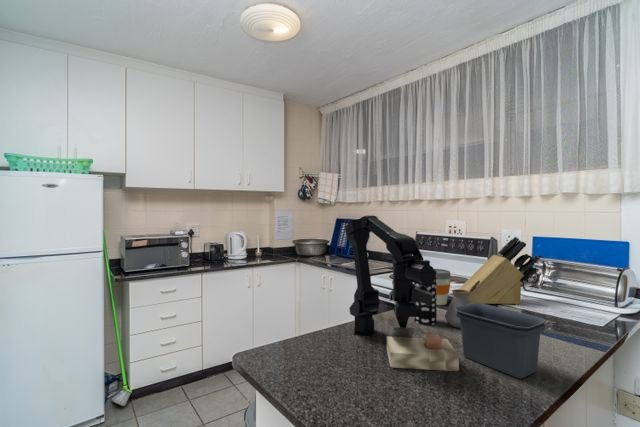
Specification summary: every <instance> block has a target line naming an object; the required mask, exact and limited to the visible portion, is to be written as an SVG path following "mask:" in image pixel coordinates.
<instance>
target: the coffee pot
mask: <svg viewBox="0 0 640 427" xmlns="http://www.w3.org/2000/svg"><path fill="white" fill-rule="evenodd" d="M480 282H481V281H477V283H475V285H473V287H472V288H471V289H470V291H467V290H459V288H458V289H452V290H451V293H452V294H453V298H452V299H451V302H450V303H449V305H448V308H447V310H446V311H445V314H444V318H445V320H446V322H447V323H448V324H449V325H450V326H451V327H454V328H456V329H461V324H460V318H459V317H457V316H456V312H457V311H456V310H455V307H458V306H463V305H467V304H471V302H470V300H469V298H468V297H469V295H470V293H471V292H472V291H473V290H474V289H475V288H476V287H477V285H480V284H479V283H480ZM482 284H483V283H482Z"/></svg>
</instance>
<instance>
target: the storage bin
mask: <svg viewBox="0 0 640 427" xmlns="http://www.w3.org/2000/svg"><path fill="white" fill-rule="evenodd" d="M455 310H456V311H457V312H456V316H457V317H459V318H460V324H461V328H460V332H461V344H462V352H463V356H464V357H465V358H467V359H469V360H472V361H474V362H476V363H478V364H481V365H484V366H487V367H489V368H492V369H494V370H496V371H500V372H502V373H504V374H506V375H510V376H512V377H515V378H517V379H524V378H526V377H528V376H531V375H532V374H533V373H535V372H537V370H538V362H539V360H538V359H539V350H540V339H541V332H542V331H545V330H546V324H545V323H547V322H548V320H547V319H545V318H543V317H539V316H536V315H532V314H529V313H523V312H520V311H516V310H510V309H508V308H502V307H499V306H494V305H491V304H480V303H472V304H467V305H463V306H458V307H455Z"/></svg>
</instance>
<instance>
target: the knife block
mask: <svg viewBox="0 0 640 427" xmlns="http://www.w3.org/2000/svg"><path fill="white" fill-rule="evenodd" d="M525 247H527V243H526V242H524V241H522V240H520V238H519V237H518V236H514V237H513V238H512V239H511V240H509V241H508V242H507V243H506V244H505V245H504V246H502V248H501V249H500V250H499V251H498V252H497V254H492V256H490V258H489V259H487V261H485V262H484V264H482V265H481V266H480V267H479V268H478V269H477V270H476V271H475V272H474V273H473V274H472V275H471V276H470V277H469V278H468V279H467V280H466V281H465V282H464V283H463V284H462V285H461V286H460V287H459V288H458V289H459V290H467V291H470V289H471V288H472V287H473V285H475V283H477V281H481V282H480V283H479V284H480V285H477V287H476V288H475V289H474V290H473V291H472V292H471V293H470V295H469V297H468V298H469V300H470V302H471V304H472V303H480V304H486V305H491V304H493V305H495V304H499V305H500V304H505V305H520V304H521V296H522V295H521V294H522V292H521V291H522V284H523V283H525V282H526V281H528V280H529V279H530V278H531V277H532V276H534V275H535V274H536V273H539V271H540V270H539V268H537V267H534V265H535V264H536V263H537V262H538V261H539V260H541V258H540V257H539V256H538V255H536V256H534V257H532V255H529V254H528V253H524V254H522V255H520V256H519V257H517V255H519V254H520V253H521V251H522V250H524V248H525ZM515 257H517V258H516V259H515ZM513 259H515V261H514V263H512V260H513ZM482 283H483V284H482Z"/></svg>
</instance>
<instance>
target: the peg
mask: <svg viewBox="0 0 640 427" xmlns="http://www.w3.org/2000/svg"><path fill="white" fill-rule="evenodd" d="M423 335H424V337H423V338H424V344H425V346H426V348H427V349H441V350H442V339H443V338H441V337H440V335H439V334H438V333H437V334H435V333H424V334H423Z"/></svg>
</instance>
